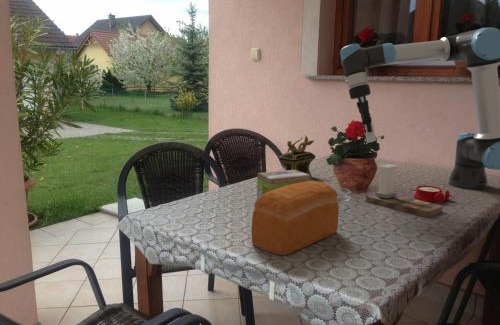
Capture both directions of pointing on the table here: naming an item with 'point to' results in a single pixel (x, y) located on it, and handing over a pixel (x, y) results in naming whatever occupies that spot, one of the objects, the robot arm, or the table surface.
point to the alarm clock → (431, 194)
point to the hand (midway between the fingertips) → (371, 141)
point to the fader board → (406, 205)
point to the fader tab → (386, 181)
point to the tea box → (279, 180)
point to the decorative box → (298, 157)
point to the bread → (294, 217)
